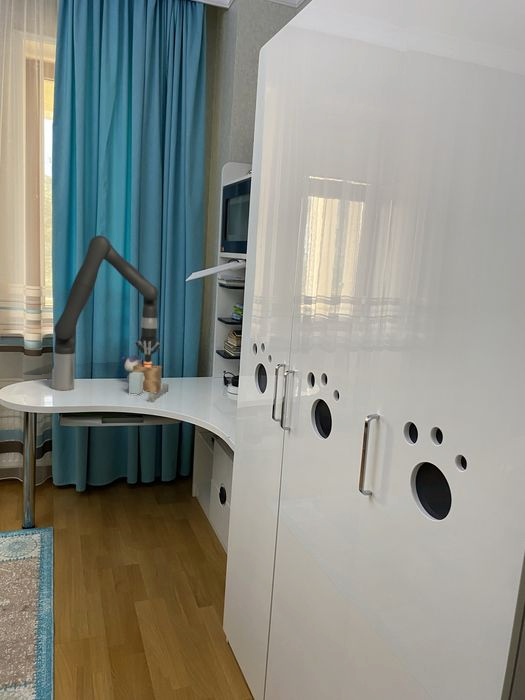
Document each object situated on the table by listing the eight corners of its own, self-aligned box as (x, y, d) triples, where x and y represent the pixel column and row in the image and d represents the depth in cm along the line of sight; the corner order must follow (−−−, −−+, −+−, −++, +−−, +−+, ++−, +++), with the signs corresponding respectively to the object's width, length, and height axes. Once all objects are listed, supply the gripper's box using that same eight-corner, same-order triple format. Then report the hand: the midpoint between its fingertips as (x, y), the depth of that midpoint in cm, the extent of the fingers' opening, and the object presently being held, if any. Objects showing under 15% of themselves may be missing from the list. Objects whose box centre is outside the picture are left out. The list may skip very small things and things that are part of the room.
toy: (147, 383, 305) (148, 354, 303) (140, 387, 295) (141, 357, 293) (127, 381, 307) (128, 352, 304) (120, 385, 297) (121, 355, 295)
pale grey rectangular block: (128, 394, 280) (129, 373, 278) (132, 392, 285) (133, 371, 284) (139, 395, 279) (139, 374, 277) (143, 393, 284) (144, 372, 283)
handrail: (148, 401, 269) (148, 393, 268) (163, 391, 291) (163, 383, 290) (153, 402, 269) (153, 393, 268) (168, 392, 290) (168, 384, 290)
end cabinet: (131, 390, 288) (132, 366, 286) (137, 387, 295) (138, 363, 293) (155, 393, 286) (156, 368, 284) (160, 389, 293) (161, 366, 291)
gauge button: (141, 379, 288) (142, 362, 287) (144, 377, 292) (145, 360, 291) (149, 379, 287) (150, 363, 286) (152, 378, 292) (153, 361, 290)
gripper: (164, 327, 289) (163, 362, 291) (139, 324, 290) (137, 359, 293) (160, 328, 281) (158, 364, 284) (133, 326, 283) (132, 361, 286)
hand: (147, 361), depth 289 cm, fingers closed
